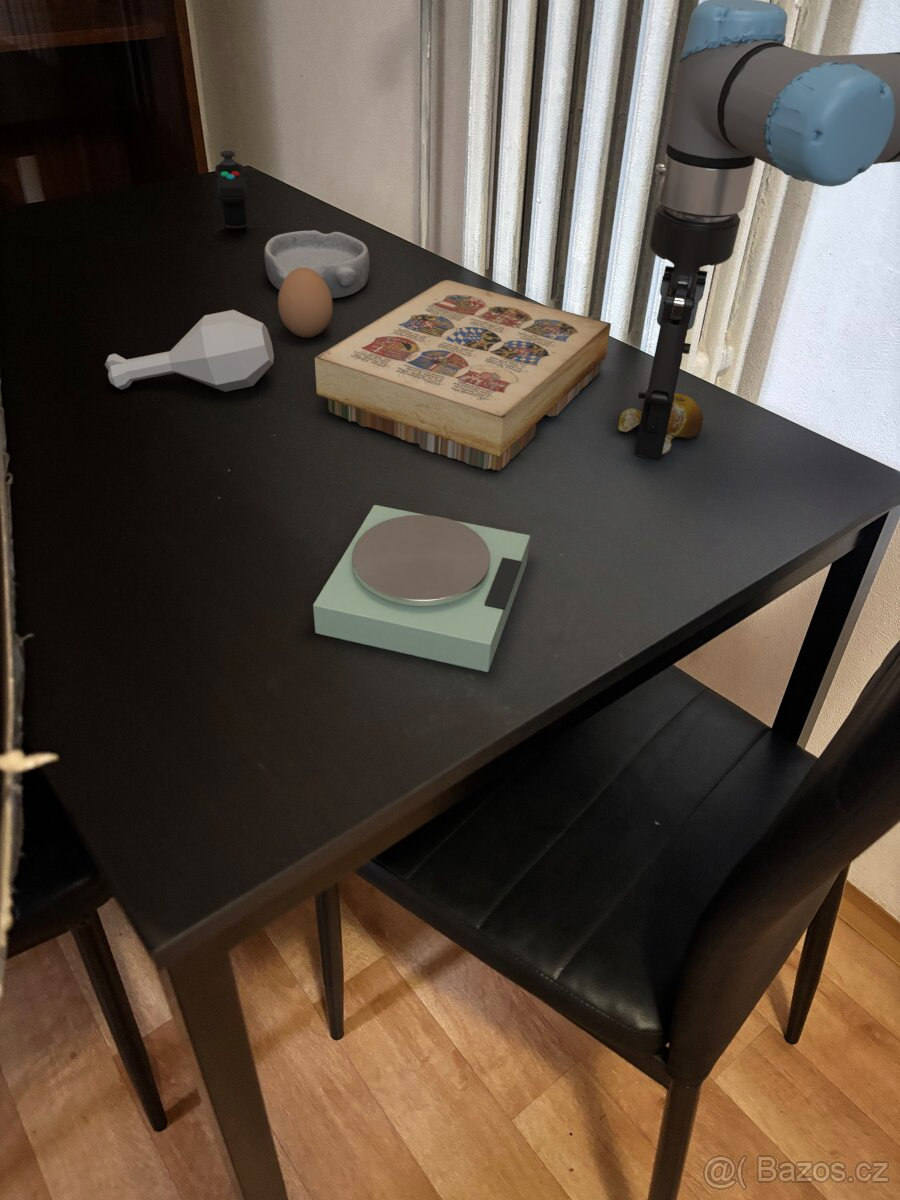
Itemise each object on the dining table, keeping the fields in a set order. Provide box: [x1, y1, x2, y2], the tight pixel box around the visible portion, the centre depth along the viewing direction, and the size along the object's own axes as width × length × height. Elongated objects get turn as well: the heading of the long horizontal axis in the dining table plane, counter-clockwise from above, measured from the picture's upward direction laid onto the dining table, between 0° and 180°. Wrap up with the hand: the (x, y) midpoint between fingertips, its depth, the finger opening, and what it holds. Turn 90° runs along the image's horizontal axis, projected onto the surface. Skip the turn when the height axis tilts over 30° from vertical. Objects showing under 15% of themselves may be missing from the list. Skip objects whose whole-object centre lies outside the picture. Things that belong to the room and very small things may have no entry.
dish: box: [264, 229, 370, 299], centre depth 122 cm, size 14×14×5 cm
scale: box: [312, 504, 531, 673], centre depth 74 cm, size 14×14×3 cm
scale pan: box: [352, 514, 490, 606], centre depth 72 cm, size 11×11×1 cm
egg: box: [277, 268, 334, 339], centre depth 108 cm, size 6×6×8 cm
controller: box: [214, 150, 248, 231], centre depth 134 cm, size 4×12×10 cm, turn 12°
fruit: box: [617, 392, 704, 455], centre depth 95 cm, size 8×8×4 cm
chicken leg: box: [104, 309, 275, 393], centre depth 98 cm, size 8×18×8 cm, turn 95°
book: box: [314, 278, 612, 472], centre depth 101 cm, size 25×6×28 cm
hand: (652, 432), depth 95 cm, fingers closed on fruit, 9 cm apart
